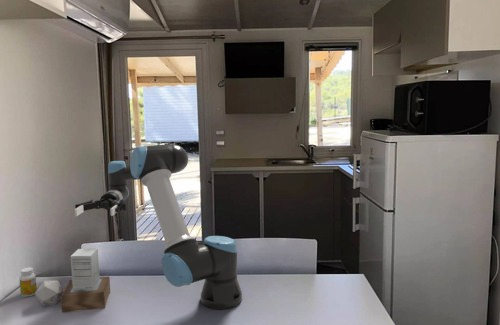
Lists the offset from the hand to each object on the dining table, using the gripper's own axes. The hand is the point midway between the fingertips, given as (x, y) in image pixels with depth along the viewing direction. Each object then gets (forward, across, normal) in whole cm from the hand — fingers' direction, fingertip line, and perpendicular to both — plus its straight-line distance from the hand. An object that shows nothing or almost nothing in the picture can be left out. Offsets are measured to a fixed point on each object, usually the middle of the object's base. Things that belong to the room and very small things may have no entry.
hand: (93, 212), depth 149 cm
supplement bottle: (+5, +24, -30) cm, 39 cm away
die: (+12, +13, -30) cm, 35 cm away
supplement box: (+12, 0, -24) cm, 27 cm away
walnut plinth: (+12, 0, -30) cm, 32 cm away
